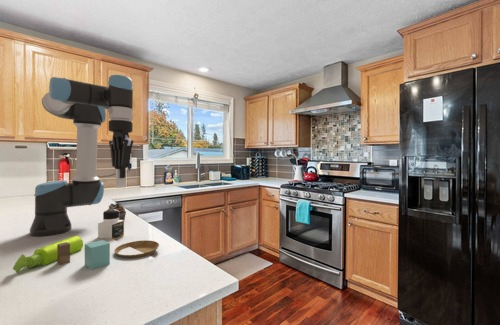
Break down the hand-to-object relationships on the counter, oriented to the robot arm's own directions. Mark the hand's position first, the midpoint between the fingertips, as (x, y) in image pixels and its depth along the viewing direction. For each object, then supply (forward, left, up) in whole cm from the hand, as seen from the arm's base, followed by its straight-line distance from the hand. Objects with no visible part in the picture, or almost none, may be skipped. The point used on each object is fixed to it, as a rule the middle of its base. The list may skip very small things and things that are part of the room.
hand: (120, 187), depth 86 cm
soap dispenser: (-16, -8, -21) cm, 28 cm away
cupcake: (-49, +21, -25) cm, 59 cm away
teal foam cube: (+4, -9, -23) cm, 25 cm away
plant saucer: (+3, +5, -25) cm, 25 cm away
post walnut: (-6, -15, -24) cm, 29 cm away
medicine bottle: (-23, +7, -25) cm, 34 cm away
